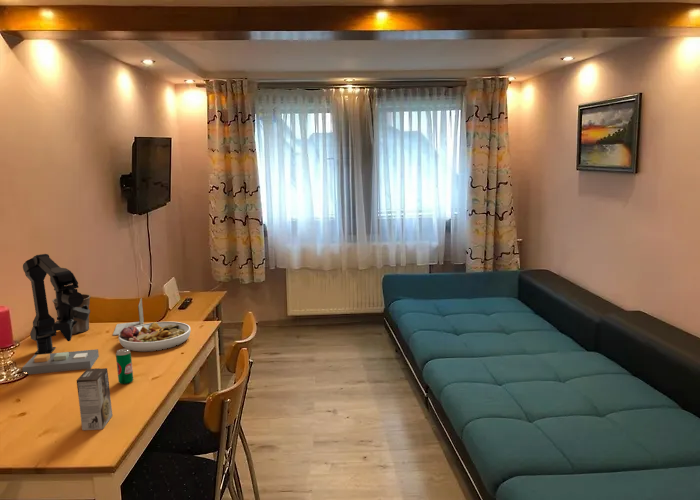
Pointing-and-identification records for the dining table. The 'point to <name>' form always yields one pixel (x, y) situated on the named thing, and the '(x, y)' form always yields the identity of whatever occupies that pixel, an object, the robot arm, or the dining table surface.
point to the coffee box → (94, 399)
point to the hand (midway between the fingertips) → (69, 340)
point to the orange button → (42, 358)
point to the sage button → (61, 356)
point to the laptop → (125, 325)
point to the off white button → (80, 355)
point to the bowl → (154, 336)
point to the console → (62, 363)
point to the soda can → (124, 366)
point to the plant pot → (81, 324)
